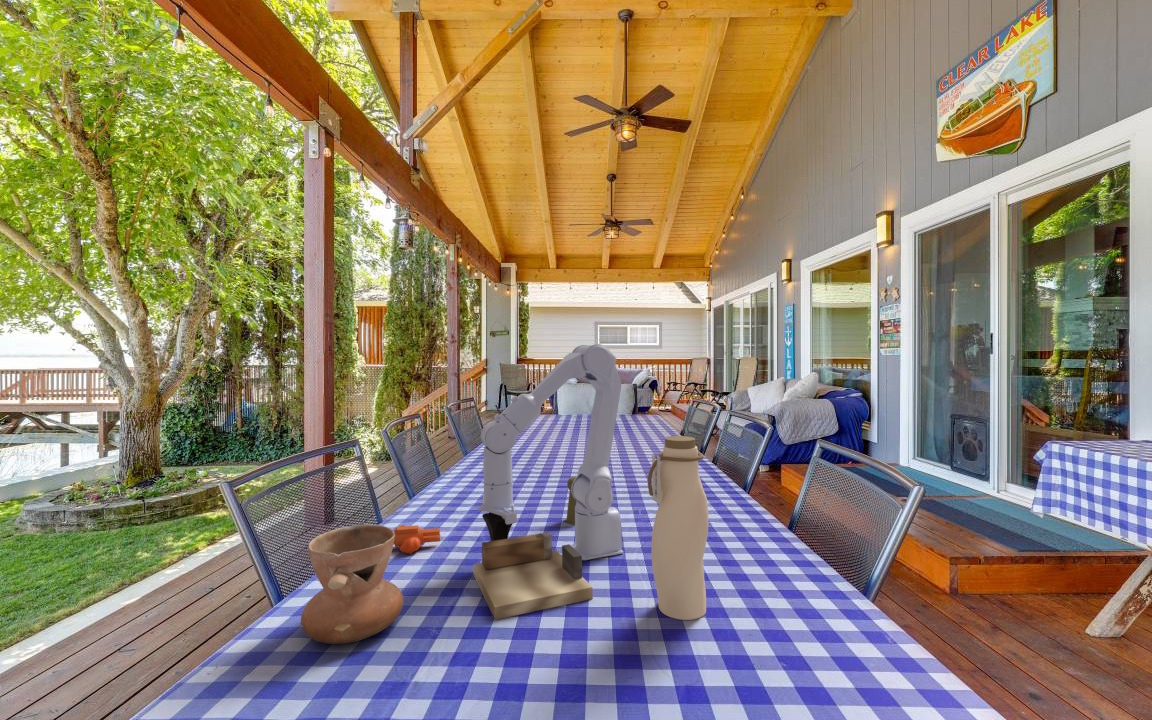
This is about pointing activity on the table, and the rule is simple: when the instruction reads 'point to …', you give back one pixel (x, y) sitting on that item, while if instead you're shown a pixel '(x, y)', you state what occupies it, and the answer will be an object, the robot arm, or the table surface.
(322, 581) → the ceramic jug
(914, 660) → the table surface
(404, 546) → the orange blocky toy
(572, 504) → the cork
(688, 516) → the water bottle
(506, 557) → the folding leg
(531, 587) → the board
